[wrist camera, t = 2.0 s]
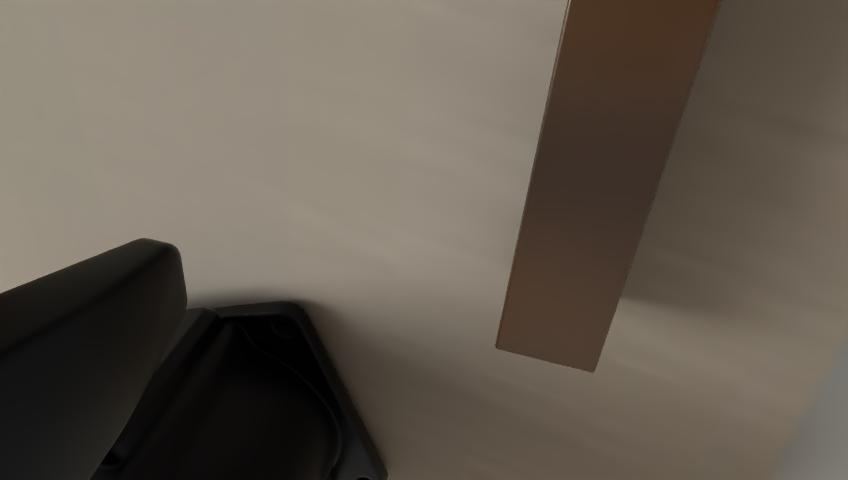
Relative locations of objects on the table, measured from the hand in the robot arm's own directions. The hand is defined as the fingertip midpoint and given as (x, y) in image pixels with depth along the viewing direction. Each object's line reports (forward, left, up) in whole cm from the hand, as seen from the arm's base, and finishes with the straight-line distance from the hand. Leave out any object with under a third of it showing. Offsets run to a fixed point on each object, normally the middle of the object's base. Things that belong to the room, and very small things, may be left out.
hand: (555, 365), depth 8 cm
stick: (0, 0, -6) cm, 6 cm away
